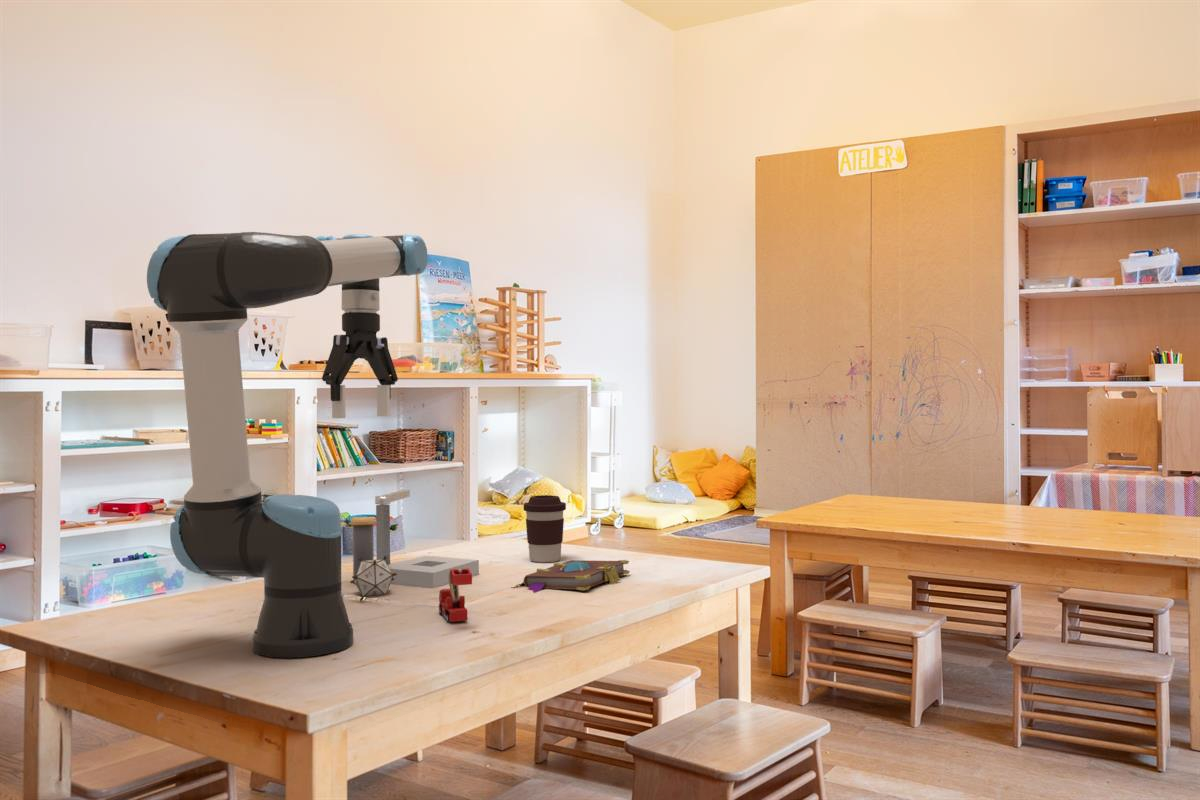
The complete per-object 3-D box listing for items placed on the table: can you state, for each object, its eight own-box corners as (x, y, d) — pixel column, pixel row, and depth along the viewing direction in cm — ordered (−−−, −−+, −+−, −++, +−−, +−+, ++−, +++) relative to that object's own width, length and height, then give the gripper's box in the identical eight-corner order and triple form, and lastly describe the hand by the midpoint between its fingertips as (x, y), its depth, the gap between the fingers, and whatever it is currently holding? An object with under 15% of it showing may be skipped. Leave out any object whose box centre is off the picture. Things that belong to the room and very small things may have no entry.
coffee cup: (570, 562, 229) (569, 498, 229) (527, 565, 227) (527, 499, 226) (561, 555, 239) (561, 493, 238) (520, 557, 236) (520, 495, 236)
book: (511, 597, 198) (509, 572, 198) (569, 576, 220) (568, 553, 220) (583, 600, 190) (582, 574, 190) (636, 577, 213) (635, 554, 213)
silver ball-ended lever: (413, 496, 225) (413, 489, 225) (387, 504, 210) (387, 497, 210) (399, 496, 226) (399, 489, 225) (372, 504, 210) (372, 497, 210)
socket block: (433, 592, 196) (433, 572, 196) (377, 586, 202) (377, 567, 202) (478, 578, 210) (478, 560, 210) (425, 573, 216) (425, 555, 216)
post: (385, 581, 208) (384, 506, 208) (366, 579, 210) (365, 505, 210) (400, 577, 213) (399, 504, 213) (381, 575, 215) (381, 503, 215)
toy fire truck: (455, 611, 180) (455, 557, 180) (473, 627, 167) (472, 570, 167) (437, 612, 179) (436, 559, 179) (453, 629, 166) (453, 572, 166)
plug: (364, 587, 198) (363, 520, 198) (346, 585, 201) (345, 519, 200) (380, 583, 202) (379, 517, 202) (362, 581, 205) (362, 516, 205)
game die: (379, 619, 190) (382, 583, 184) (340, 602, 191) (342, 566, 185) (402, 589, 197) (406, 553, 191) (365, 572, 198) (367, 537, 192)
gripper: (332, 307, 188) (333, 419, 188) (413, 315, 210) (414, 415, 210) (302, 308, 191) (303, 418, 192) (385, 317, 214) (386, 415, 214)
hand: (361, 417), depth 201 cm, fingers open, 13 cm apart
